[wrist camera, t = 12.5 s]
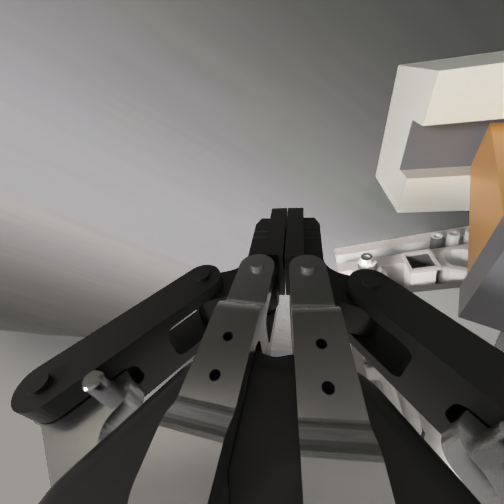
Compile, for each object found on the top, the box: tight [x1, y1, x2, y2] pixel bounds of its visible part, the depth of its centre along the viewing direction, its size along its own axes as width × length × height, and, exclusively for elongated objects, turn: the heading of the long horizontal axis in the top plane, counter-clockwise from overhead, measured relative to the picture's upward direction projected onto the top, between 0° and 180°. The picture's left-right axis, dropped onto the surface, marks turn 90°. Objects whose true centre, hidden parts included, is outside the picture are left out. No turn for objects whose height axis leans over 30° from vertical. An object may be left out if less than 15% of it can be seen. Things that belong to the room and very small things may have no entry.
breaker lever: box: [458, 123, 504, 332], centre depth 13 cm, size 4×2×16 cm, turn 7°
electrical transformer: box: [334, 226, 500, 481], centre depth 26 cm, size 16×19×25 cm
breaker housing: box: [375, 51, 504, 213], centre depth 20 cm, size 10×11×8 cm
